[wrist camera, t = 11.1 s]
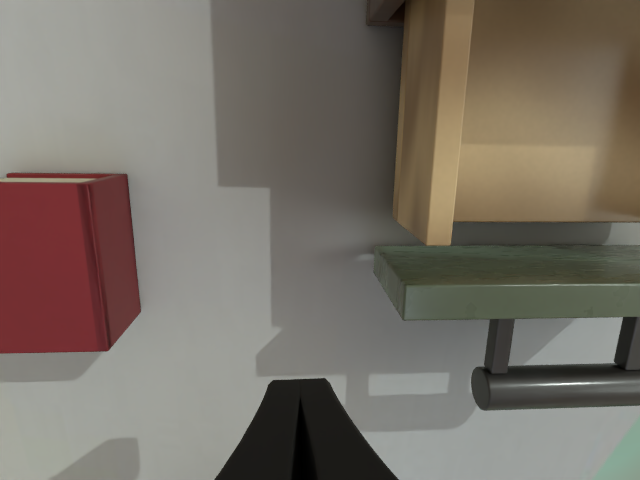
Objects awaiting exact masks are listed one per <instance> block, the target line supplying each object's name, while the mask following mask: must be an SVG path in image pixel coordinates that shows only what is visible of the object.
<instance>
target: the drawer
mask: <svg viewBox="0 0 640 480" xmlns="http://www.w3.org/2000/svg"><path fill="white" fill-rule="evenodd" d="M392 217H393V219H395V220H396V221H397V222H398V223H399V224H400V225H401V226H403V227H404V228H405V229H406V230H408V231H409V232H410V233H411V234H412V235H414V236H415V237H416V238H417V239H419V240H420V241H421V242H422V243H423V244H425V245H426V246H375V253H374V274H375V275H376V277H377V279H378V280H379V282H380V284H381V285H382V287H383V289H384V290H385V292H386V293H387V295H388V297H389V298H390V300H391V302H392V303H393V305H394V307H395V308H396V310H397V312H398V313H399V315H400V317H401V318H402V320H405V321H406V320H469V319H490V323H489V331H488V339H487V346H486V354H485V362H484V365H485V367H476V368H475V369H474V370H473V372H472V377H471V387H472V393H473V396H474V399H475V402H476V404H477V405H478V407H479V408H480V409H482V410H485V411H487V410H517V409H548V408H578V407H609V406H639V405H640V245H567V246H450V245H451V237H452V227H453V222H640V0H406V2H405V19H404V35H403V51H402V68H401V84H400V101H399V117H398V134H397V150H396V167H395V183H394V199H393V216H392ZM593 317H623V321H622V325H621V330H620V335H619V339H618V344H617V349H616V353H615V358H614V362H615V363H606V364H566V365H525V366H508V362H509V355H510V348H511V341H512V335H513V328H514V321H515V319H531V318H593Z"/></svg>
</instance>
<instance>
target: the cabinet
mask: <svg viewBox="0 0 640 480" xmlns="http://www.w3.org/2000/svg"><path fill="white" fill-rule="evenodd" d="M405 2H406V0H367V11H366V25H368V26H393V27H404V19H405Z"/></svg>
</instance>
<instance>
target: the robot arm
mask: <svg viewBox="0 0 640 480" xmlns="http://www.w3.org/2000/svg"><path fill="white" fill-rule="evenodd" d="M215 480H399V479H398V478H397V477H396V476H395V475H394V474H393V473H392V472H391V471H390V469H389V468H388V467H387V466H386V465H385V463H384V462H383V461H382V460H381V459H380V457H379V456H378V455H377V454H376V453H375V451H374V450H373V449H372V448H371V446H370V445H369V444H368V442H367V441H366V440H365V438H364V437H363V436H362V434H361V433H360V431H359V430H358V429H357V427H356V426H355V424H354V423H353V422H352V420H351V419H350V417H349V416H348V414H347V413H346V411H345V410H344V408H343V406H342V405H341V403H340V401H339V400H338V398H337V396H336V395H335V393H334V391H333V389H332V387H331V385H330V383H329V382H328V381H327V380H326V379H325V378H318V379H293V380H273V381H272V382H271V383H270V384H269V385H268V388H267V391H266V393H265V396H264V398H263V400H262V402H261V405H260V407H259V409H258V411H257V413H256V415H255V416H254V418H253V420H252V422H251V424H250V425H249V427H248V429H247V431H246V432H245V434H244V436H243V438H242V439H241V441H240V443H239V444H238V446H237V447H236V449H235V450H234V452H233V453H232V455H231V456H230V458H229V459H228V461H227V462H226V464H225V465H224V467H223V468H222V470H221V471H220V473H219V474H218V476H217V477H216V478H215Z"/></svg>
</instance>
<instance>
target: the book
mask: <svg viewBox="0 0 640 480" xmlns="http://www.w3.org/2000/svg"><path fill="white" fill-rule="evenodd" d="M140 312H141V309H140V299H139V289H138V279H137V269H136V259H135V248H134V238H133V228H132V218H131V208H130V198H129V187H128V177H127V174H80V173H8V174H7V178H3V179H0V353H47V352H97V351H109V349H110V348H111V347H112V346H113V345H114V343H115V342H116V341H117V340H118V339H119V337H120V336H121V335H122V334H123V333H124V331H125V330H126V329H127V328H128V327H129V325H130V324H131V323H132V322H133V321H134V319H135V318H136V317H137V316H138V315H139V314H140Z"/></svg>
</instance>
